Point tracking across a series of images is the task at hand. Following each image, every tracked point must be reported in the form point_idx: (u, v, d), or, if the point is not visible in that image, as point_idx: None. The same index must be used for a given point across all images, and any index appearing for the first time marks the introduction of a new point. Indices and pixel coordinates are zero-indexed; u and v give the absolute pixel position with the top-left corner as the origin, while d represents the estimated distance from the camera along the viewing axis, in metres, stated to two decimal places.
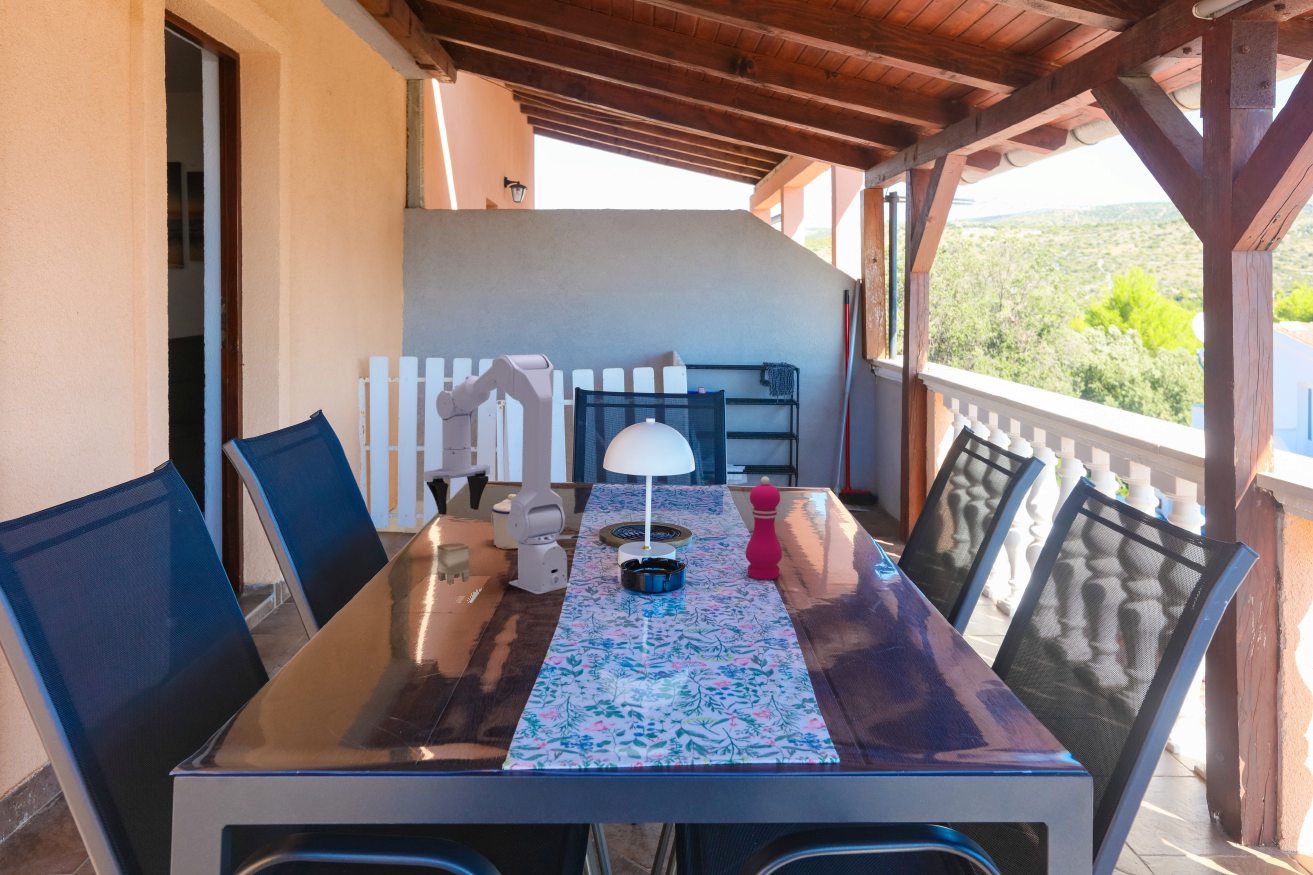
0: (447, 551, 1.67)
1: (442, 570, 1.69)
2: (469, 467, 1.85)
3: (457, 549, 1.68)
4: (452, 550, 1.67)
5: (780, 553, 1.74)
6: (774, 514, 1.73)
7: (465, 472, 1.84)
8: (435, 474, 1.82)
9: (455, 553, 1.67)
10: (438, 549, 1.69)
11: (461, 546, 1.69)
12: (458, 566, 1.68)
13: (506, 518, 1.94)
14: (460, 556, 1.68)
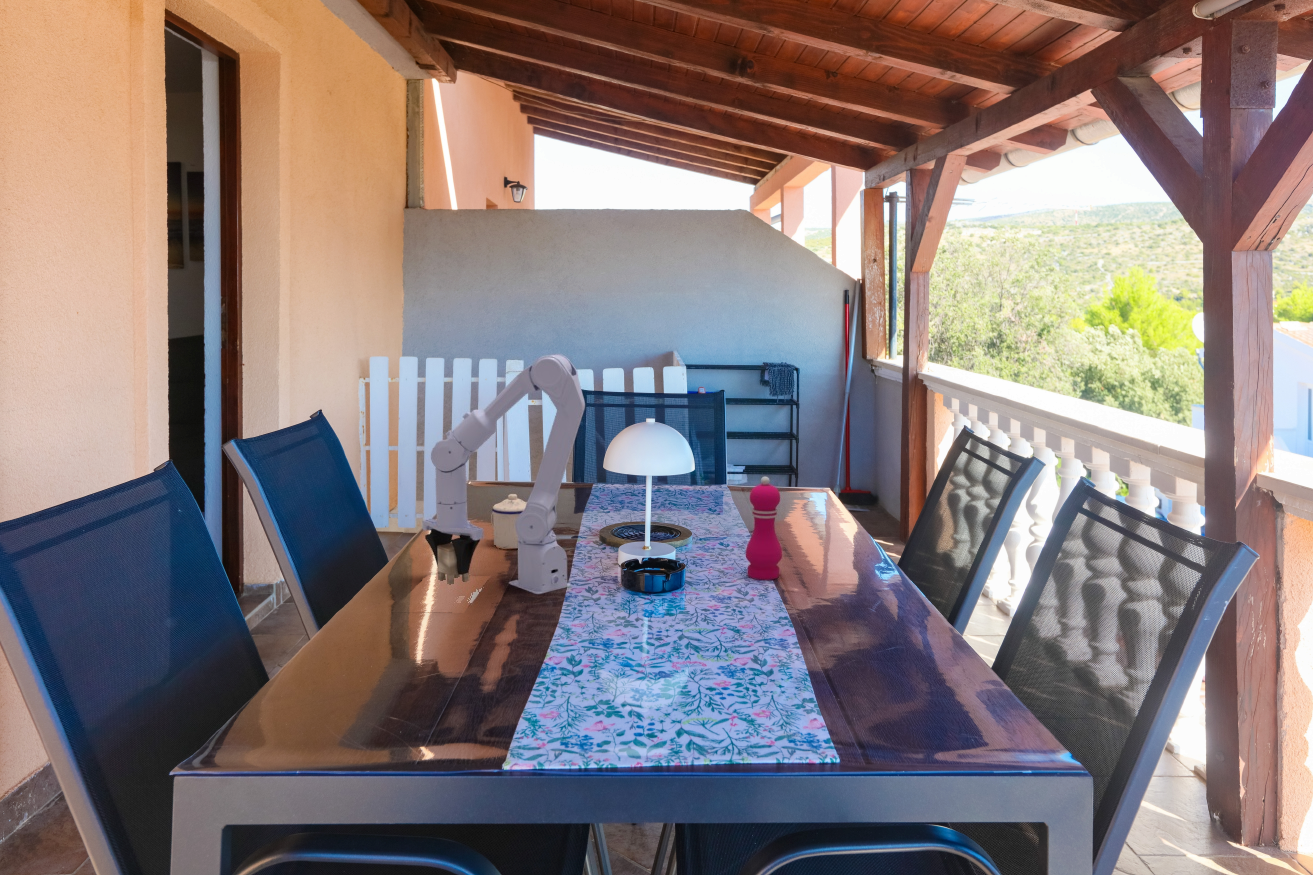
0: (447, 551, 1.67)
1: (442, 570, 1.69)
2: (447, 525, 1.66)
3: None
4: (452, 550, 1.67)
5: (780, 553, 1.74)
6: (774, 514, 1.73)
7: (440, 529, 1.66)
8: (426, 523, 1.71)
9: None
10: (438, 549, 1.69)
11: None
12: None
13: (506, 518, 1.94)
14: None
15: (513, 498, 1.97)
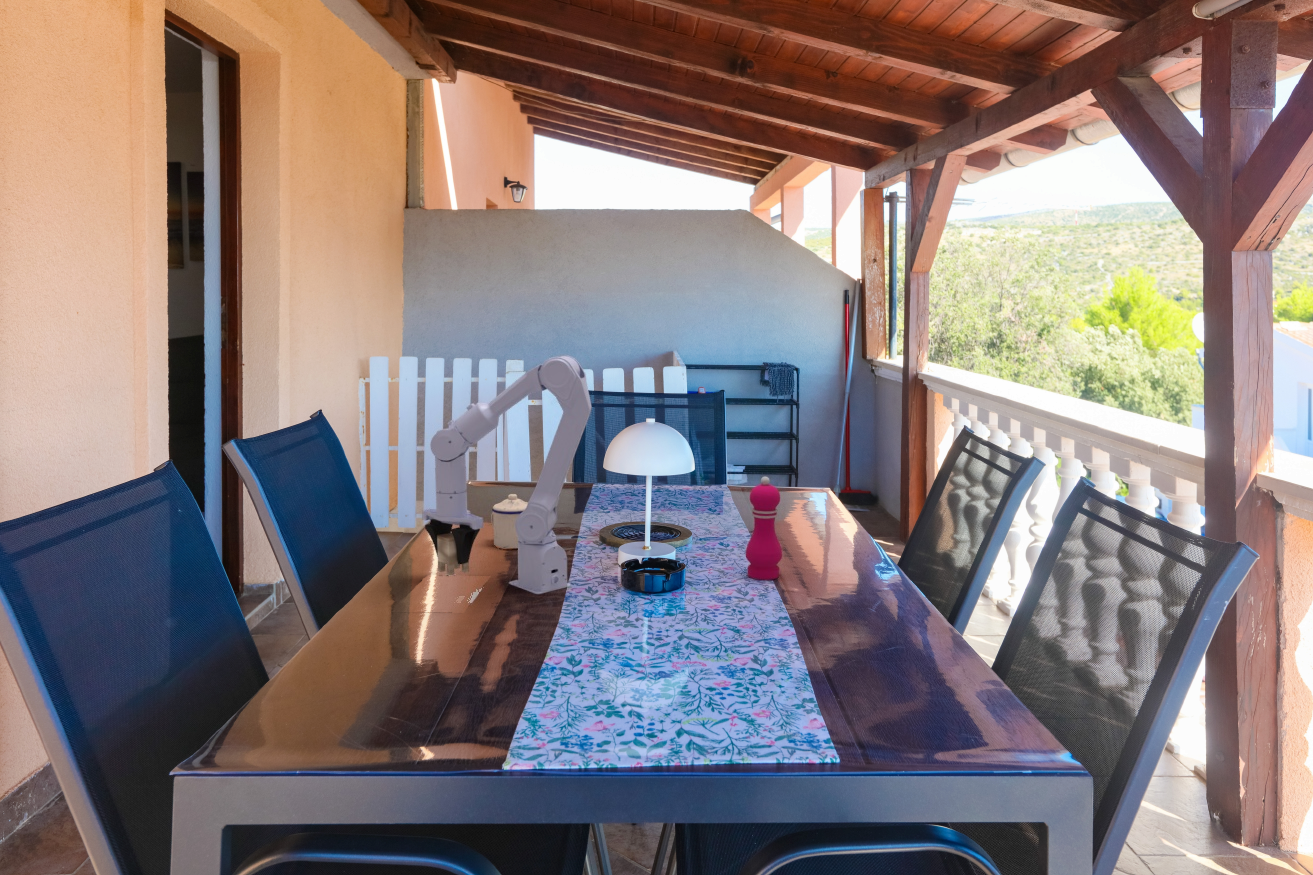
0: (447, 541, 1.66)
1: (442, 560, 1.68)
2: (447, 515, 1.66)
3: None
4: (452, 540, 1.67)
5: (780, 553, 1.74)
6: (774, 514, 1.73)
7: (440, 519, 1.66)
8: (426, 513, 1.71)
9: None
10: (438, 539, 1.69)
11: None
12: None
13: (506, 518, 1.94)
14: None
15: (513, 498, 1.97)
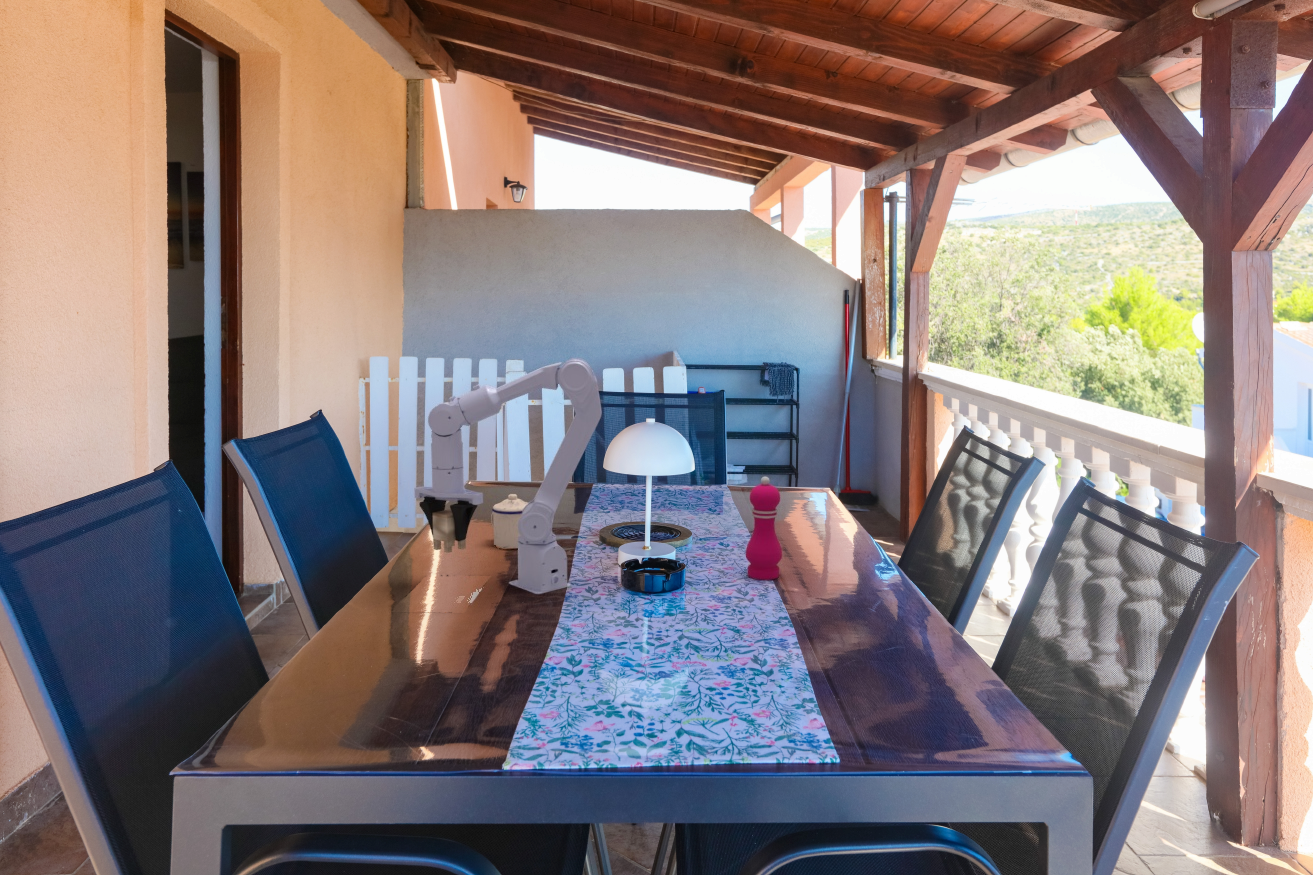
0: (445, 517, 1.64)
1: (438, 537, 1.65)
2: (445, 491, 1.63)
3: None
4: (450, 516, 1.64)
5: (780, 553, 1.74)
6: (774, 514, 1.73)
7: (438, 495, 1.63)
8: (419, 491, 1.67)
9: (453, 519, 1.64)
10: (433, 516, 1.66)
11: None
12: None
13: (506, 518, 1.94)
14: None
15: (513, 498, 1.97)
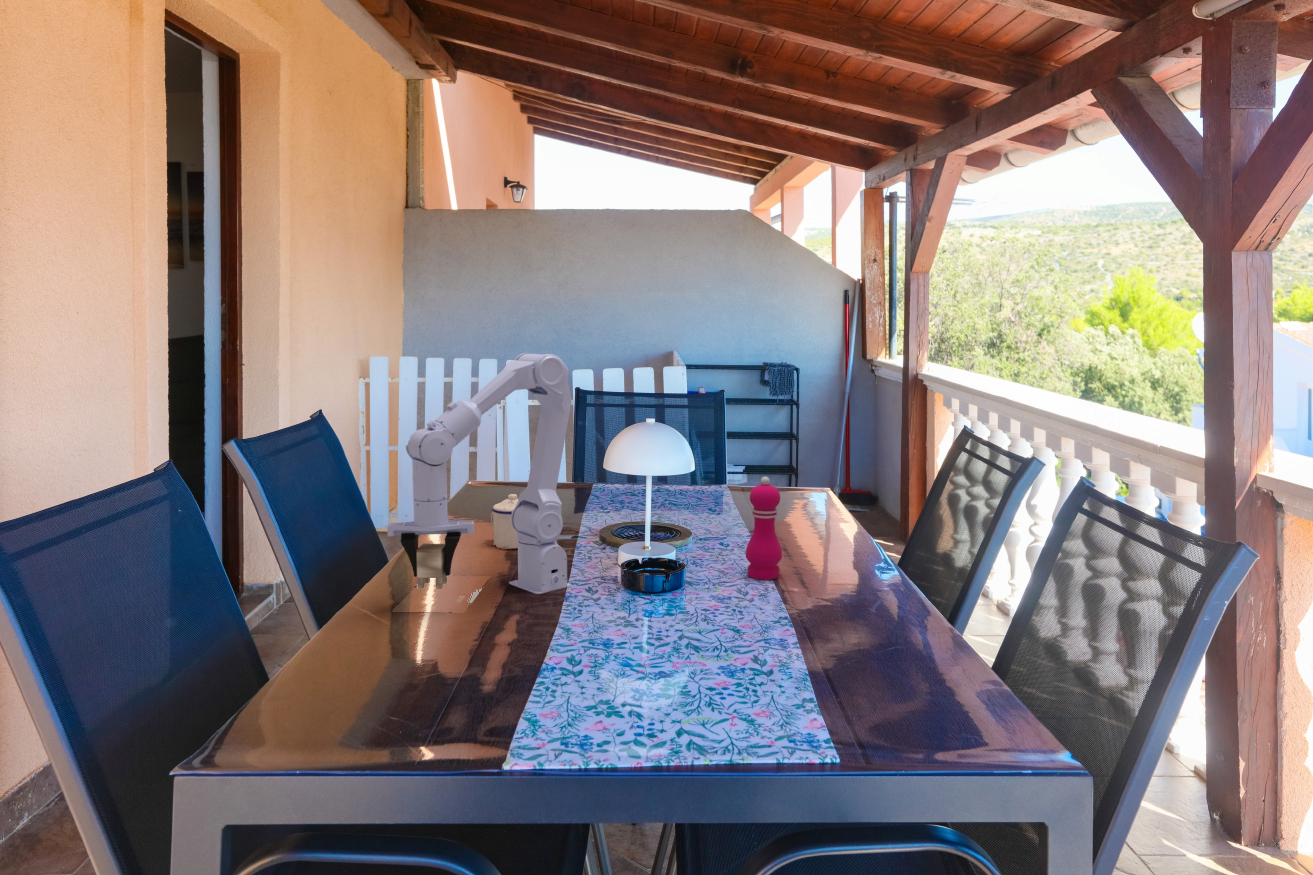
0: (437, 552, 1.53)
1: (426, 575, 1.53)
2: (438, 524, 1.52)
3: (443, 548, 1.55)
4: (442, 550, 1.54)
5: (780, 553, 1.74)
6: (774, 514, 1.73)
7: (429, 529, 1.51)
8: (396, 528, 1.52)
9: (442, 553, 1.54)
10: (418, 553, 1.53)
11: (442, 545, 1.56)
12: (444, 567, 1.55)
13: (506, 518, 1.94)
14: (444, 556, 1.55)
15: (513, 498, 1.97)
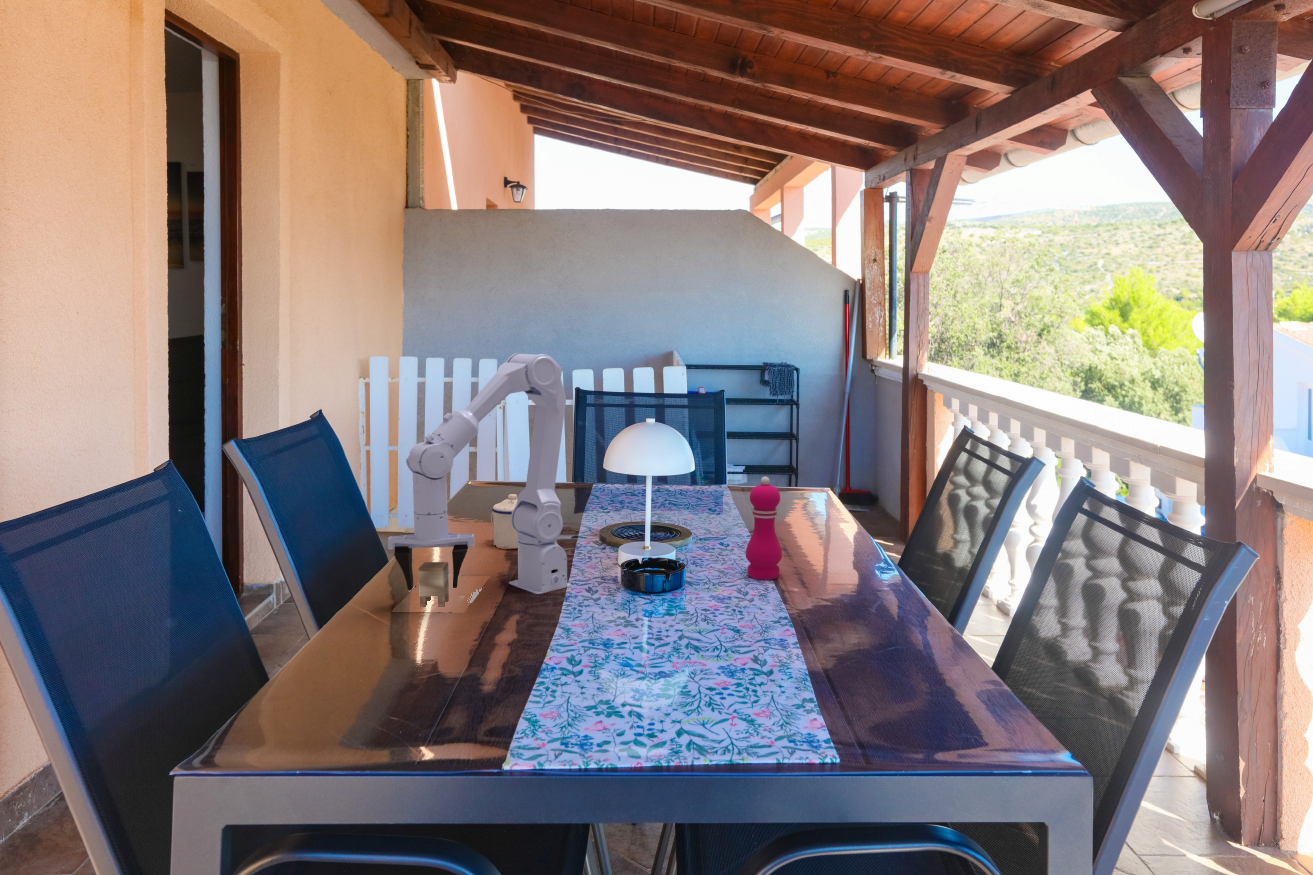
0: (440, 570, 1.53)
1: (429, 593, 1.54)
2: (438, 537, 1.52)
3: (445, 567, 1.55)
4: (444, 568, 1.54)
5: (780, 553, 1.74)
6: (774, 514, 1.73)
7: (430, 543, 1.52)
8: (396, 541, 1.53)
9: (444, 571, 1.55)
10: (421, 572, 1.53)
11: (443, 563, 1.56)
12: (445, 585, 1.56)
13: (506, 518, 1.94)
14: (446, 574, 1.56)
15: (513, 498, 1.97)
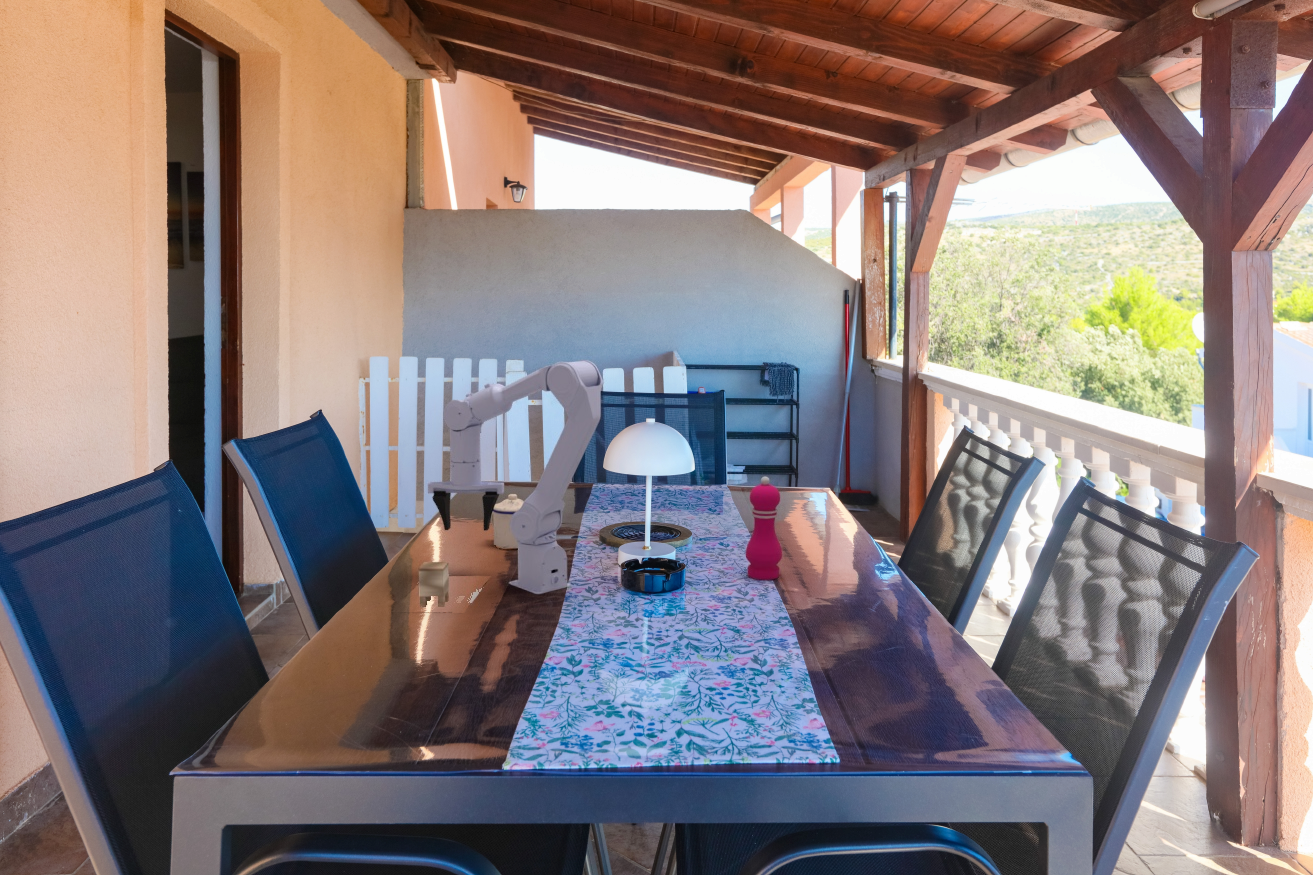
0: (440, 570, 1.53)
1: (429, 593, 1.54)
2: (470, 483, 1.70)
3: (445, 567, 1.55)
4: (444, 568, 1.54)
5: (780, 553, 1.74)
6: (774, 514, 1.73)
7: (463, 488, 1.70)
8: (435, 486, 1.72)
9: (444, 571, 1.55)
10: (421, 572, 1.53)
11: (443, 563, 1.56)
12: (445, 585, 1.56)
13: (506, 518, 1.94)
14: (446, 574, 1.56)
15: (513, 498, 1.97)
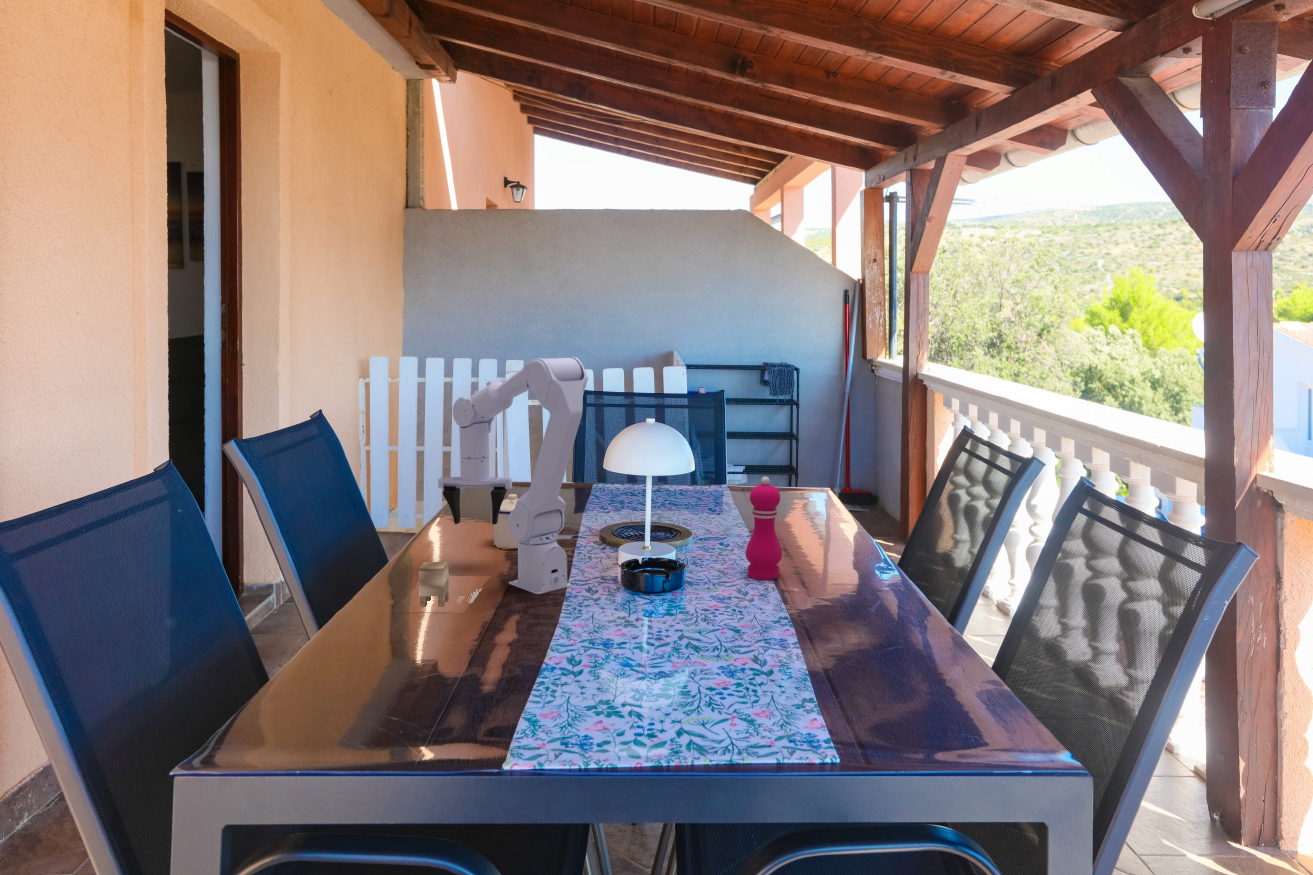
0: (440, 570, 1.53)
1: (429, 593, 1.54)
2: (479, 478, 1.76)
3: (445, 567, 1.55)
4: (444, 568, 1.54)
5: (780, 553, 1.74)
6: (774, 514, 1.73)
7: (472, 483, 1.75)
8: (445, 481, 1.77)
9: (444, 571, 1.55)
10: (421, 572, 1.53)
11: (443, 563, 1.56)
12: (445, 585, 1.56)
13: (506, 518, 1.94)
14: (446, 574, 1.56)
15: (513, 498, 1.97)
